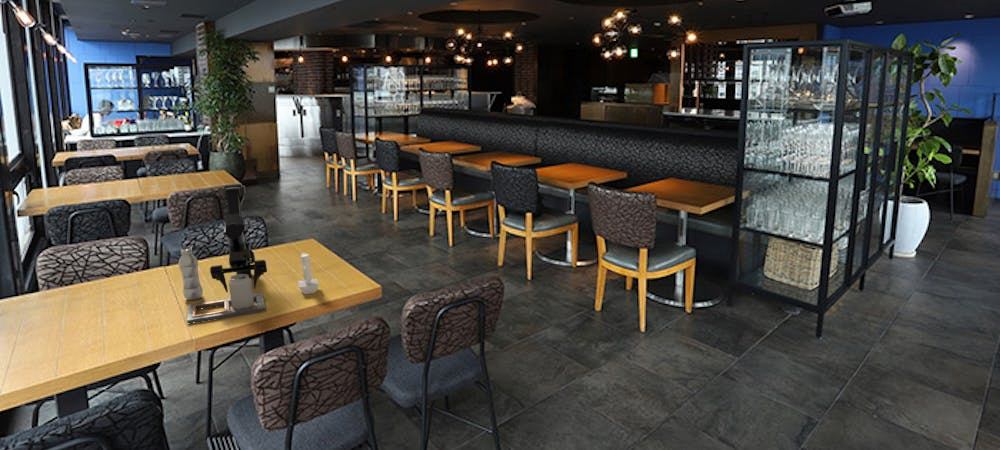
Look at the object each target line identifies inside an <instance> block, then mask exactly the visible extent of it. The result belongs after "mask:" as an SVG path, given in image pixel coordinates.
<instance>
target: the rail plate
mask: <svg viewBox="0 0 1000 450" xmlns="http://www.w3.org/2000/svg"><path fill="white" fill-rule="evenodd" d="M253 299H254V302H255V301H256V305H255V306H254V305H253V306H252V307H248V308H242V309H236V310H235V309H231V310H230V305H231V306H232V303H231V297H230V298H224V299H217V300H210V301H205V302H204V301H203V302H198V303H192V304H188V310H187V320H186V321H187V324H188V323H193V322H200V323H203V322H202V321H206V322H209V321H208V320H212V321H215V320H214V319H217V320H222V319H223V320H224V319H228V318H234V317H241V316H246V315H252V314H257V313H264V312H266V311H267V310H266V304H265V299H264V296H263V292H261V293H255V294H254V293H253ZM216 306H219V307H223V306H224V310H219V311H214V312H207V313H202V314H197V310H196V309H200V310H202V309H201V308H206V309H210V308H209V307H213V308H216Z"/></svg>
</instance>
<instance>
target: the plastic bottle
mask: <svg viewBox="0 0 1000 450" xmlns="http://www.w3.org/2000/svg"><path fill="white" fill-rule="evenodd" d="M180 255H181V256H180V258H179V260H178V263H177V264H178V268H179V270H180V272H181V277H182V282H183V283H182V285H183V289H182V290H183V292H182V293H183V296H184V298H185V299H186V300H187V301H193V300H194V301H195V300H197V299H200V298H202V296H203V293H204V290H203V287H202V285H201V280H200V276H199V260H198V258H197V257H196V256H195V255H194V254H193V249H192V247H191V246H185V247H181V248H180Z"/></svg>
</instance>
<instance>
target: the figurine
mask: <svg viewBox="0 0 1000 450" xmlns="http://www.w3.org/2000/svg"><path fill="white" fill-rule="evenodd" d="M300 261H301V266H302V272H303V280H297V281H296V282H297V285H298V288H299V289H300V290H301V292H302V294H303V295H308V294H315V293H316V292H317V290H318V287H319V285H320V283H319V281H318V279H317V278H316V277H315V278H313V276H312V268H311V259H310V254H309V253H304V252H303V253H301V254H300Z"/></svg>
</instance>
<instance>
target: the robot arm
mask: <svg viewBox="0 0 1000 450" xmlns="http://www.w3.org/2000/svg"><path fill="white" fill-rule="evenodd" d="M221 191H222V197H223V198H224V199H225V201H226V202H227V207H228V208H227V209H228V210H227V211H228V217H227V218H226V220H225V226H224V227H223V235H224V237H226V240H227V243H228V256H229V257H228V263H229V266H230V267H229V266H228V267H223V265H222V264H217V265H211V266H210V267H209V270H210V271H209V273H210V275H211V278H212V280H216V281H219V282H220V283H221V285H222V286H223V288H224V291H225V293H228V292H229V291H228V289H229V288H228V285H227V282H226V277H225V274H228V273H229V274H230V273H236V274H235V275H238V274H247V275H249V278H251V279H253V289H254V290H255V289H256V288H257V285H258V283H259V280H260V277H261V276H262V275H264V273H267V272H268V268H267V261H266V260H265V259H258V260H256V257H255V252H254V251H253V249H251V248H250V244H249V243H248V242H247V241H246V238H245V237H246V235H247V234H248V233H249V226H248V225H247V224H246V223H245V219H244V218H243V212H242V204H243V201H244V199H245V195H246V187H245V185H243V184H242V183H241V182H238V183H227V184H224V187H223V186H222V187H221ZM252 271H253V273H252Z"/></svg>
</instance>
